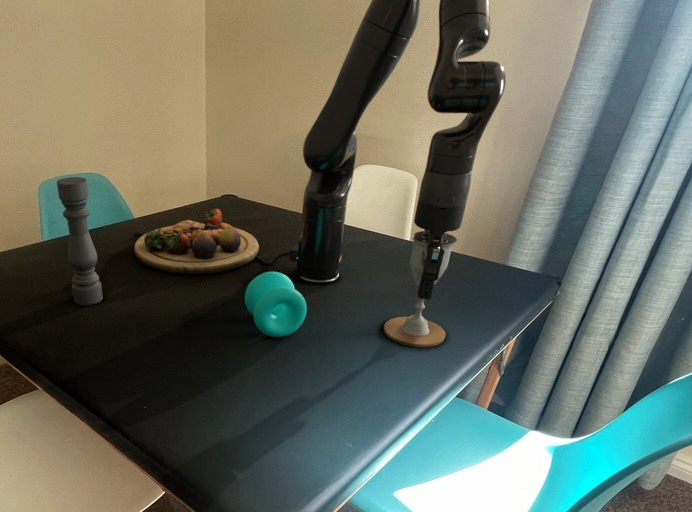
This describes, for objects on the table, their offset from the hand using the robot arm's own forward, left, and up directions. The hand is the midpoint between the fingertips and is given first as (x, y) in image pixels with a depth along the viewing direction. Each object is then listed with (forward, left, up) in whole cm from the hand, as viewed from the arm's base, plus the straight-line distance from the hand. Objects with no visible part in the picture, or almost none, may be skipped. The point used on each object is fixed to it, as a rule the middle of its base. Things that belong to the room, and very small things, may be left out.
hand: (423, 290), depth 100 cm
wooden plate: (-53, +30, -9) cm, 62 cm away
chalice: (0, 0, -8) cm, 8 cm away
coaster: (0, 0, -9) cm, 9 cm away
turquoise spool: (-26, -5, -9) cm, 28 cm away
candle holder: (-67, -3, -9) cm, 68 cm away
